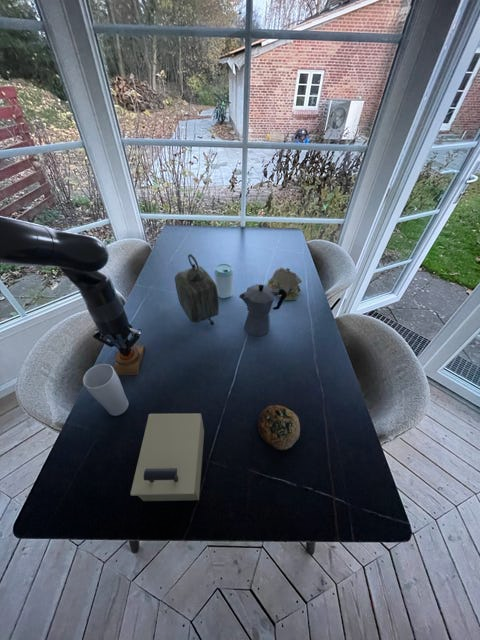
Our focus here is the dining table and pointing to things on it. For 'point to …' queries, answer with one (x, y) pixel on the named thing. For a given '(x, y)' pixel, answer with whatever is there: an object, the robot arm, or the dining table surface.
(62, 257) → the robot arm
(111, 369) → the drinking glass
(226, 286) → the can
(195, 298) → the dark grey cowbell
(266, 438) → the bread roll
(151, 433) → the lid
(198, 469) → the beige open box
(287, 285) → the ceramic model
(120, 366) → the block
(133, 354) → the button
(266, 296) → the coffeepot
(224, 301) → the dining table surface
